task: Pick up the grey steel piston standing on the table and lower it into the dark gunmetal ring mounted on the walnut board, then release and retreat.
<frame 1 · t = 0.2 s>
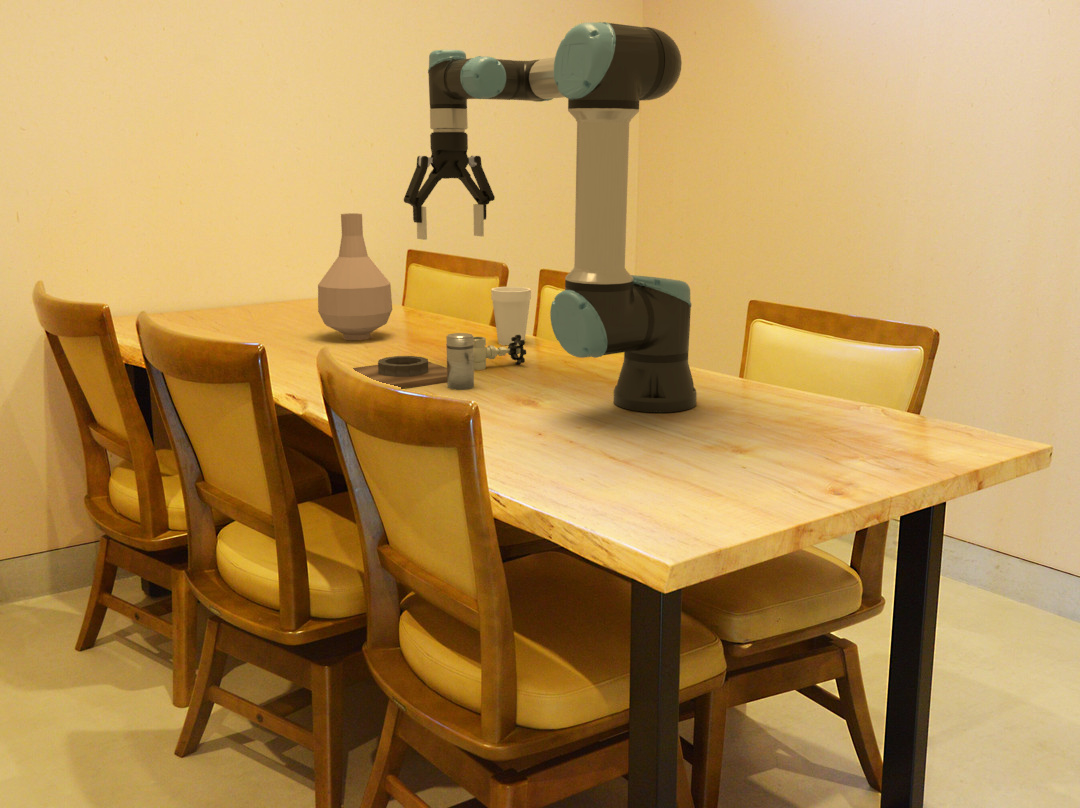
hand: (450, 237, 211), 27 cm above the table, fingers open, 13 cm apart
foam cup: (511, 344, 244), on the table
valve: (494, 368, 218), on the table
ring block: (403, 377, 208), on the table
piston: (460, 386, 200), on the table
vase: (356, 338, 251), on the table
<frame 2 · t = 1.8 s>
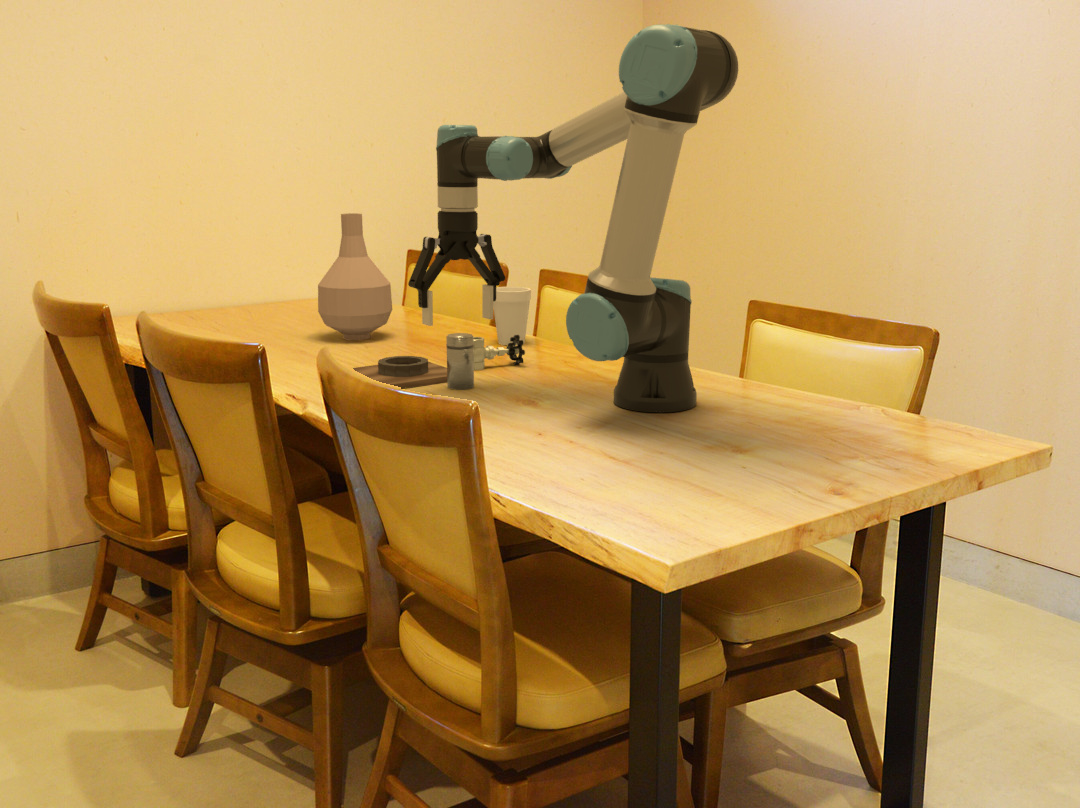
hand: (458, 321, 197), 13 cm above the table, fingers open, 13 cm apart
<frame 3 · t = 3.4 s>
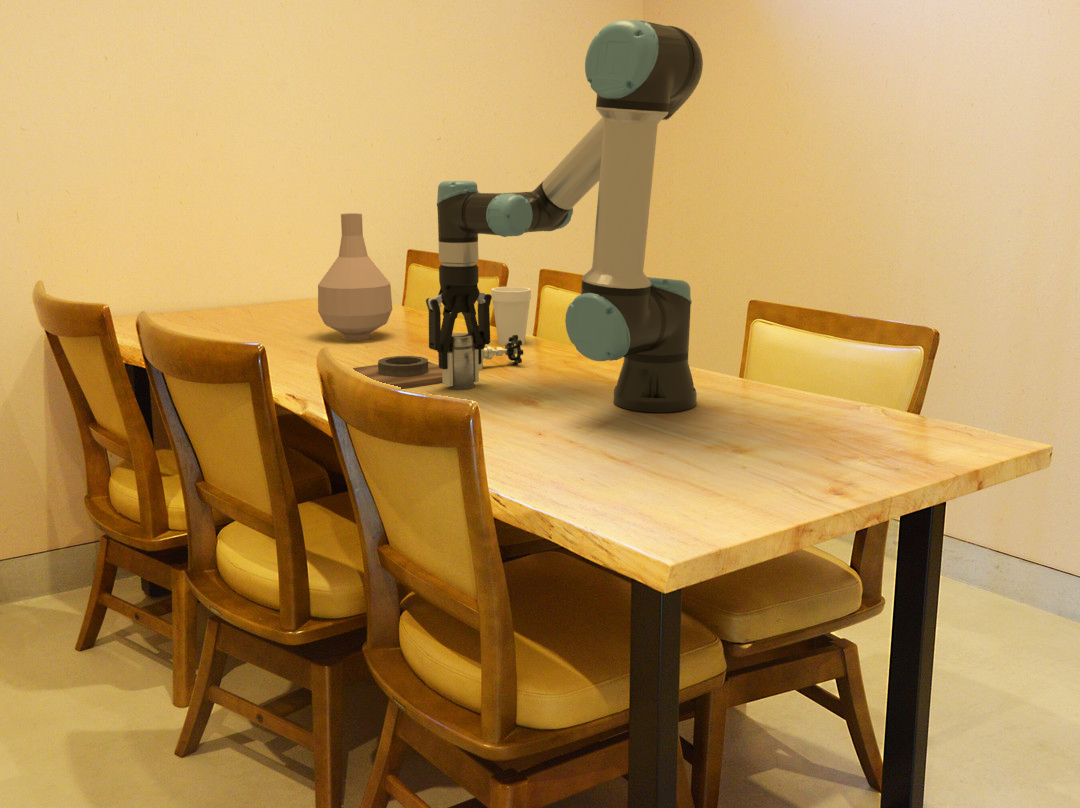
hand: (460, 382, 200), 1 cm above the table, fingers closed on piston, 5 cm apart
piston: (460, 386, 200), on the table, touching gripper
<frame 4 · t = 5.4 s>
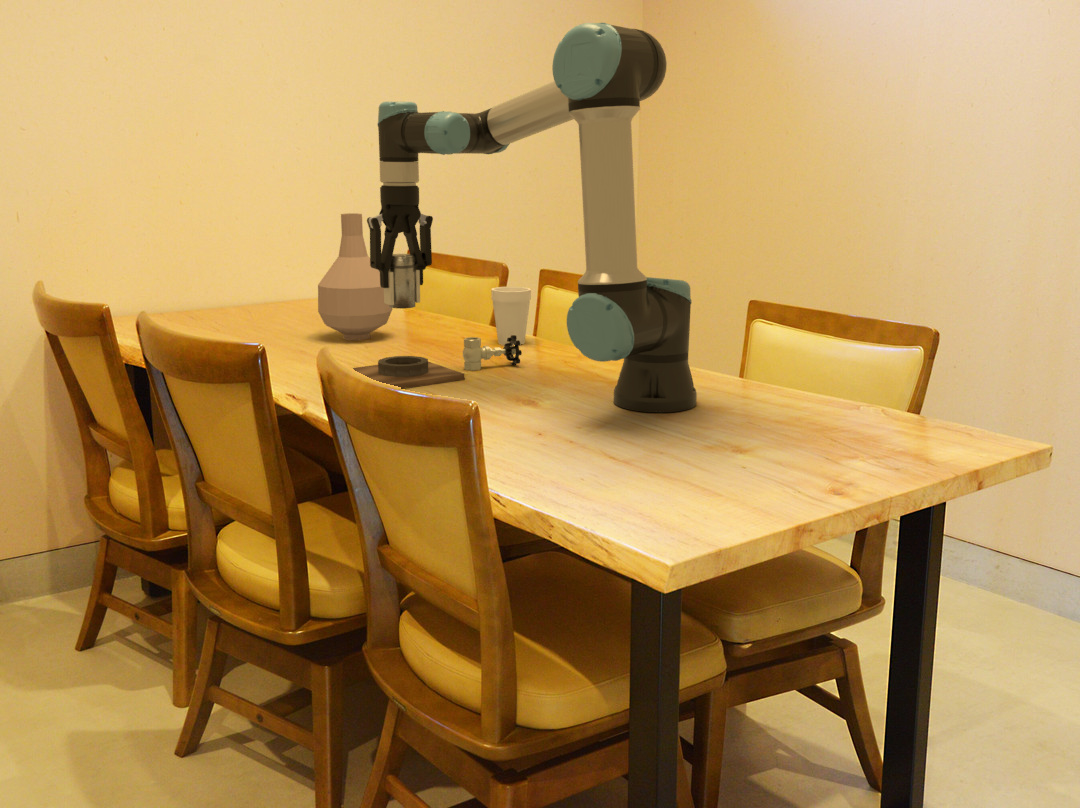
hand: (402, 302, 204), 15 cm above the table, fingers closed on piston, 5 cm apart
piston: (402, 306, 204), point 15 cm above the table, touching gripper
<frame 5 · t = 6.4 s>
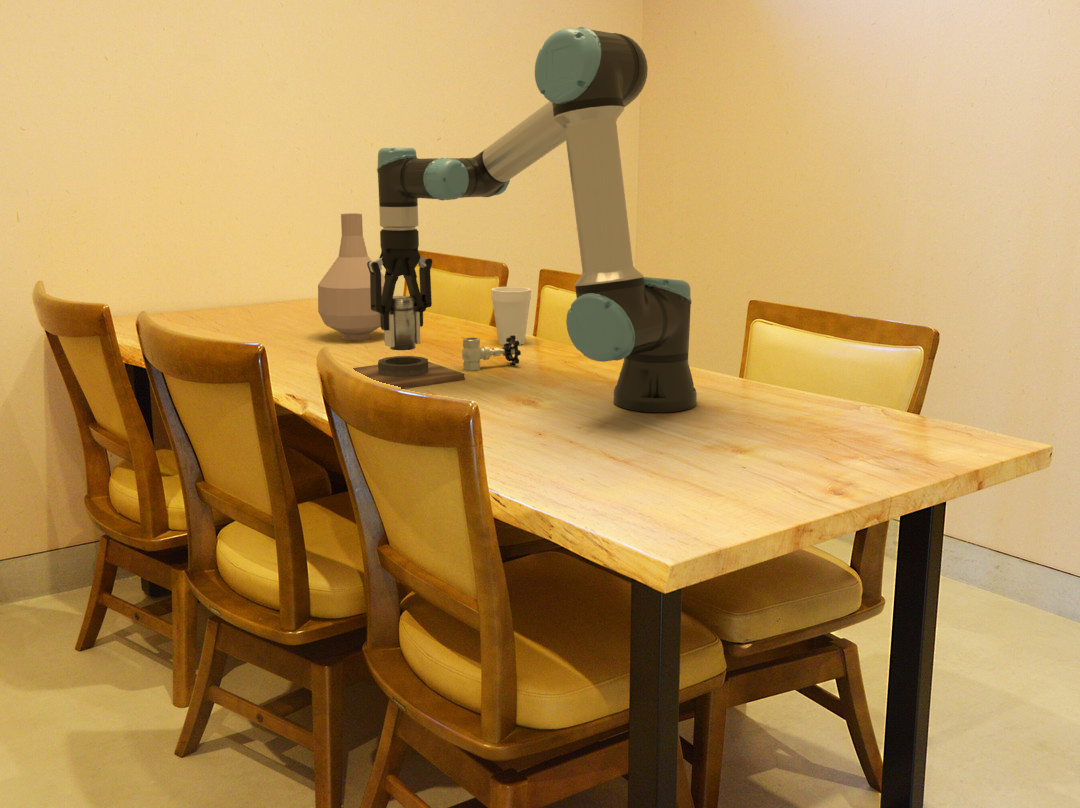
hand: (402, 344, 206), 7 cm above the table, fingers closed on piston, 5 cm apart
piston: (402, 347, 206), point 6 cm above the table, touching gripper
when the fingers open (4 cm above the table, at t = 7.2 s): piston drops 2 cm, resting on ring block.
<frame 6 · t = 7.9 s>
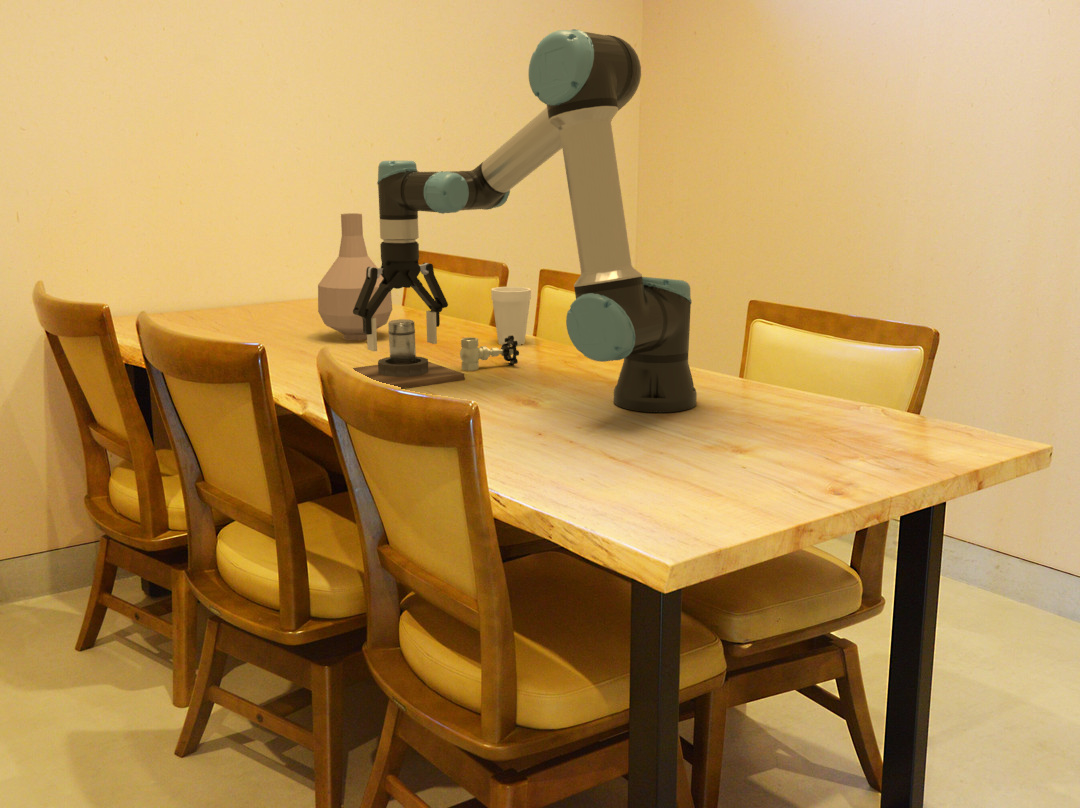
hand: (402, 346, 206), 6 cm above the table, fingers open, 13 cm apart
piston: (403, 371, 208), point 1 cm above the table, touching ring block
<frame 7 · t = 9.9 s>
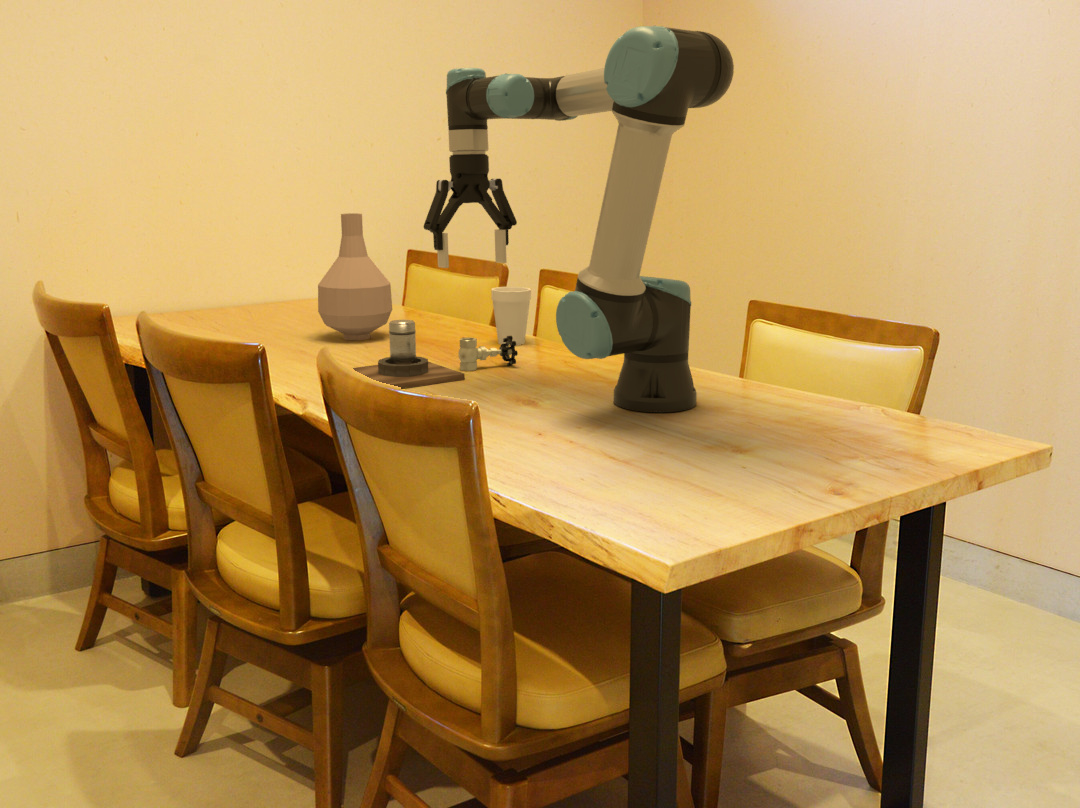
hand: (472, 265, 200), 23 cm above the table, fingers open, 13 cm apart
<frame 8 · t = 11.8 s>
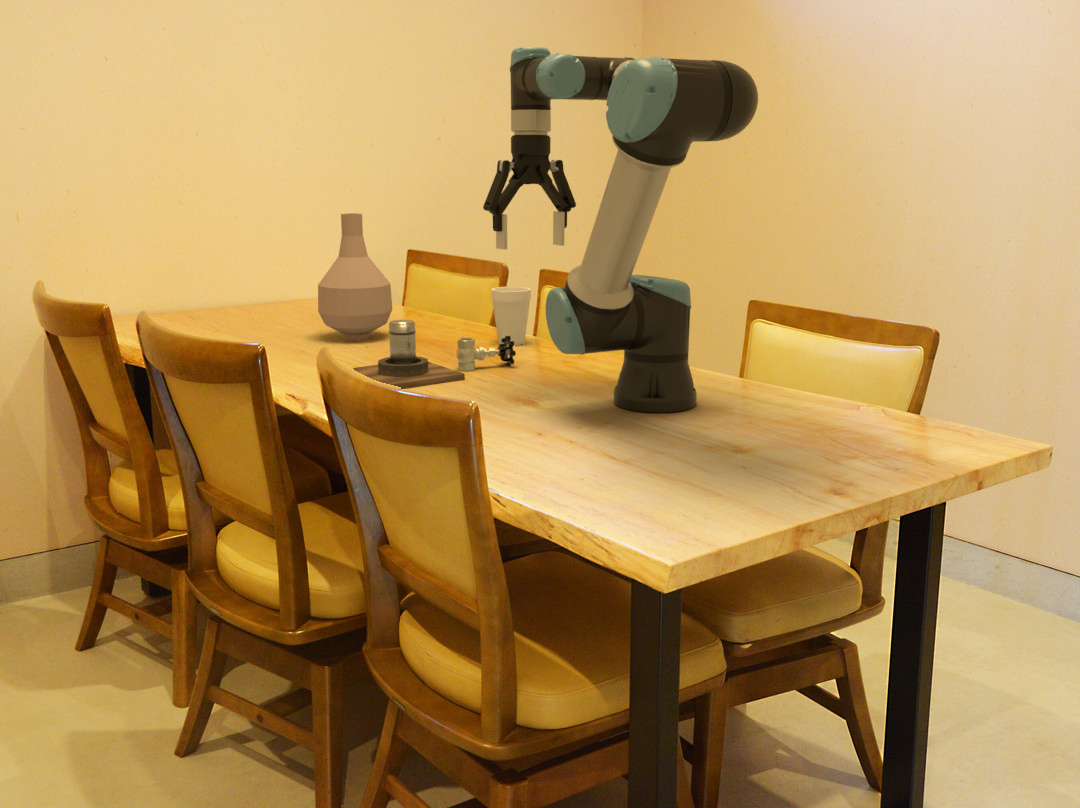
hand: (530, 247, 198), 27 cm above the table, fingers open, 13 cm apart
at the end: piston 0.0 cm off-centre on the ring block, point 1.2 cm above the ring block's base; piston tilted 0°; the gripper is holding nothing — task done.
